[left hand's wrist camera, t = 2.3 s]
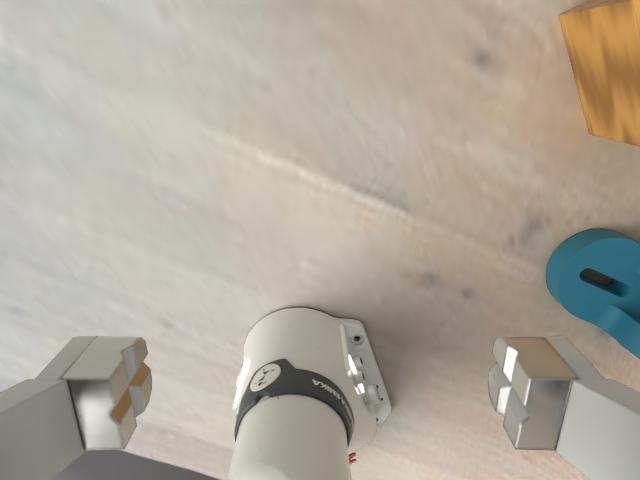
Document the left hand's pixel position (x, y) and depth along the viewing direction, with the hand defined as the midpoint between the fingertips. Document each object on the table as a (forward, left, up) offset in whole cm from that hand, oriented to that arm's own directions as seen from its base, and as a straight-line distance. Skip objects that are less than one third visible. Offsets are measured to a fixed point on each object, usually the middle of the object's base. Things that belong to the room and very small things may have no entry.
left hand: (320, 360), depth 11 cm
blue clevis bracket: (-33, -22, -41) cm, 57 cm away
